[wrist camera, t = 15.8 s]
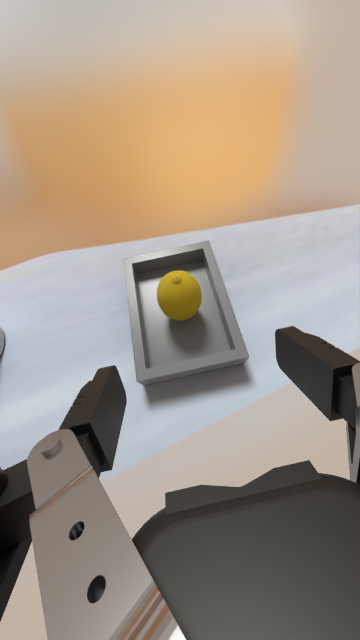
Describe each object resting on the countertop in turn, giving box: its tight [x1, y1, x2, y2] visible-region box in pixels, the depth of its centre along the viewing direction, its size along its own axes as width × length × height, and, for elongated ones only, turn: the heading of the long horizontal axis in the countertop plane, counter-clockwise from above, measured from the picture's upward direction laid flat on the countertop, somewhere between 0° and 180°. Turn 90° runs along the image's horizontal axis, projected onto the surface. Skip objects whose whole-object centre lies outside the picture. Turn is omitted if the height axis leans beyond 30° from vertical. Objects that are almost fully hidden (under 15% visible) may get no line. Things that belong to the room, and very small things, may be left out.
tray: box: [123, 241, 249, 385], centre depth 29 cm, size 13×18×3 cm
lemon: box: [157, 270, 202, 321], centre depth 26 cm, size 6×6×8 cm
